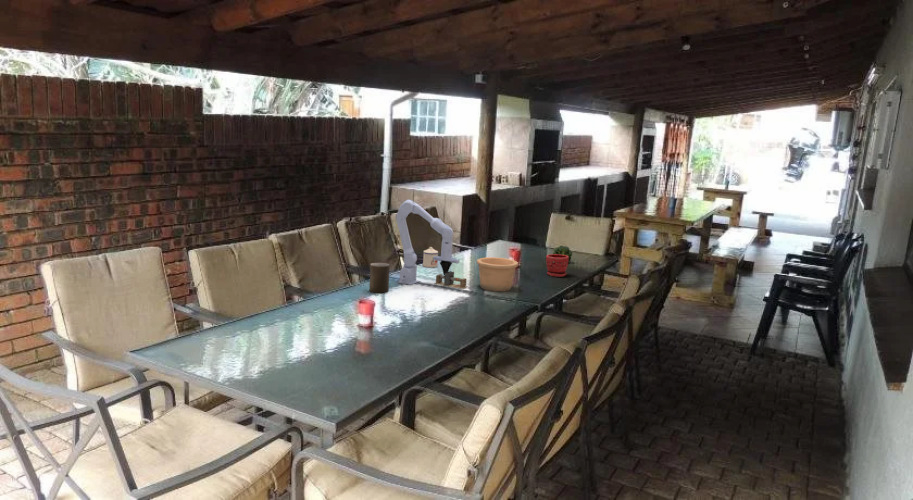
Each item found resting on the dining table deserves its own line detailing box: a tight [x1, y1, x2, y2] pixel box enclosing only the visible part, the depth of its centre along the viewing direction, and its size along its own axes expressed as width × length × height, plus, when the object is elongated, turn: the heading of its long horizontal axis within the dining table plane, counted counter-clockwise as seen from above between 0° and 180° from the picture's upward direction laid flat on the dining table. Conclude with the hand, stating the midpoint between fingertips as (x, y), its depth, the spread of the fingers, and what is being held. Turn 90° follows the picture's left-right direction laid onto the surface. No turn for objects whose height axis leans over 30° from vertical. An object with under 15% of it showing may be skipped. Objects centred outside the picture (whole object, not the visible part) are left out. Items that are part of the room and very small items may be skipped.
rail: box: [433, 273, 468, 290], centre depth 350 cm, size 17×6×5 cm, turn 63°
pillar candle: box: [369, 262, 390, 294], centre depth 329 cm, size 10×10×15 cm
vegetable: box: [552, 245, 573, 265], centre depth 426 cm, size 12×13×15 cm
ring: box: [443, 270, 455, 285], centre depth 350 cm, size 2×6×6 cm, turn 153°
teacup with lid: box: [422, 246, 439, 269], centre depth 396 cm, size 12×9×12 cm
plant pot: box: [545, 253, 569, 278], centre depth 389 cm, size 13×13×12 cm
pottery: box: [476, 256, 519, 292], centre depth 350 cm, size 22×22×14 cm
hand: (445, 274), depth 351 cm, fingers closed
